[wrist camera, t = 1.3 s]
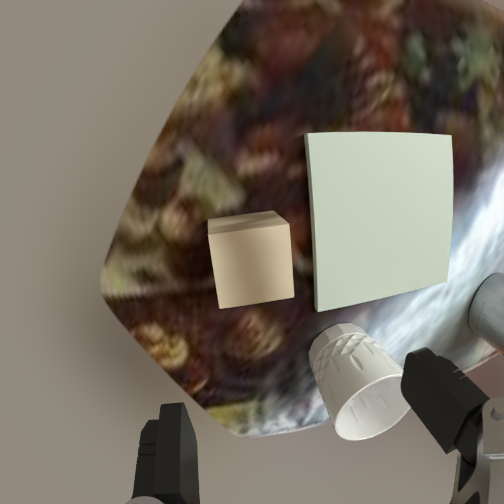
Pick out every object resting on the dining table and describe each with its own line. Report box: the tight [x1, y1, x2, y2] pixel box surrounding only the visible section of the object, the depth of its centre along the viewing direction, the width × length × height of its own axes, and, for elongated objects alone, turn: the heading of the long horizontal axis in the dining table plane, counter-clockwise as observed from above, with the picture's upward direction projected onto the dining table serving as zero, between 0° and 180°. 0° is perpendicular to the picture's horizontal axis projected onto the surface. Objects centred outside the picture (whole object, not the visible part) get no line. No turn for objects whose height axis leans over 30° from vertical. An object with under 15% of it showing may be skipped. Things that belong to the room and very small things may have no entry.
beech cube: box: [208, 211, 294, 309], centre depth 24 cm, size 6×6×6 cm
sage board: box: [304, 132, 453, 312], centre depth 28 cm, size 16×16×1 cm
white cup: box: [309, 323, 410, 441], centre depth 27 cm, size 8×8×10 cm
